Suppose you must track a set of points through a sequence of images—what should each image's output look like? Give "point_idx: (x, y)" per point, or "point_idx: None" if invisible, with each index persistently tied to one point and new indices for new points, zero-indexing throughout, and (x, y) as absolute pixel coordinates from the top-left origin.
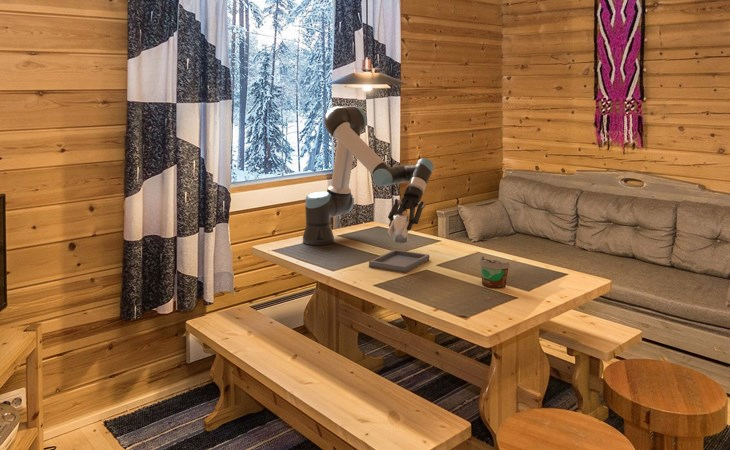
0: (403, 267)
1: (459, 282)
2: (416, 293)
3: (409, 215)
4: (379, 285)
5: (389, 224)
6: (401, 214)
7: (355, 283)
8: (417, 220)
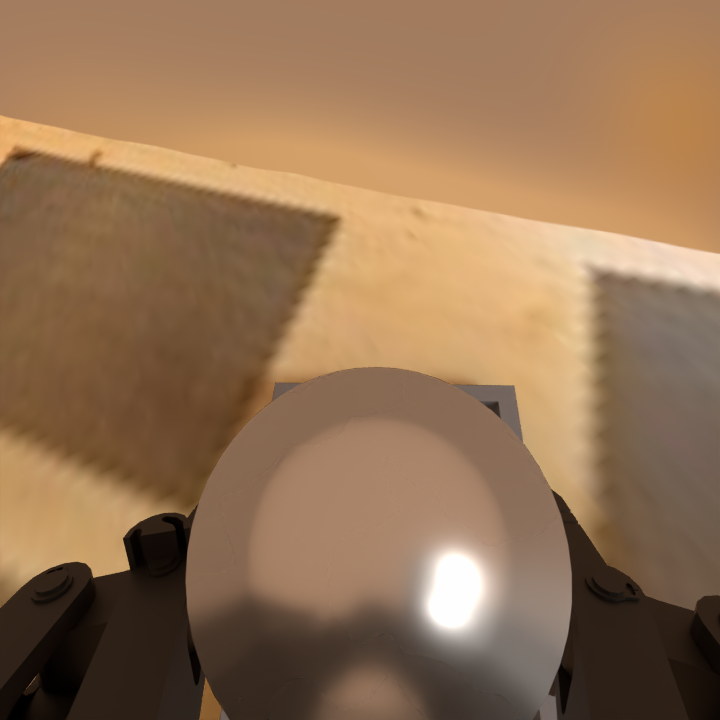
0: (286, 384)
1: (11, 396)
2: (170, 222)
3: (159, 698)
4: (318, 225)
5: (560, 505)
6: (418, 695)
7: (407, 205)
8: (28, 716)
